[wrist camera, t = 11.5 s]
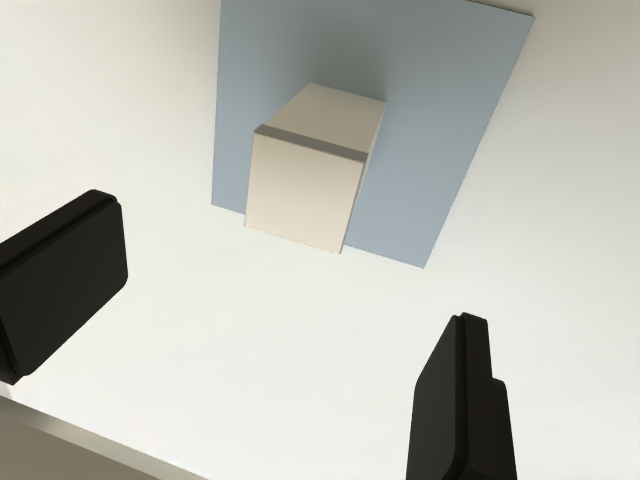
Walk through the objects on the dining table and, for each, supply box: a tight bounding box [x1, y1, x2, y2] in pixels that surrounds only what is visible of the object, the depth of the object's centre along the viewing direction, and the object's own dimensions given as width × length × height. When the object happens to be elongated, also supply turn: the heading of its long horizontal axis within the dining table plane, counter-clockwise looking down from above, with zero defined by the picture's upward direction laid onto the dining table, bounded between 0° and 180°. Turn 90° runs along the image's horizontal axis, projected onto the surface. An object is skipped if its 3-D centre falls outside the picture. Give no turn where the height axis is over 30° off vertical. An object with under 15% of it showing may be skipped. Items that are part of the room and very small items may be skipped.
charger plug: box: [244, 82, 387, 254], centre depth 19 cm, size 4×4×8 cm
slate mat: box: [211, 0, 535, 269], centre depth 22 cm, size 14×14×1 cm
